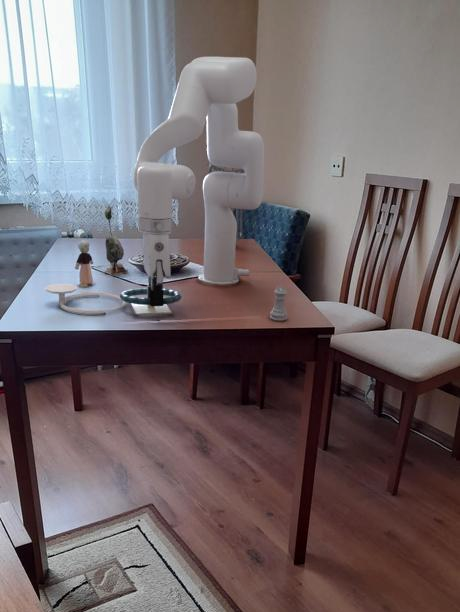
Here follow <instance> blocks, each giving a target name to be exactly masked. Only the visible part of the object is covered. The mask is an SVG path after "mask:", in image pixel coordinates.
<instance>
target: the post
mask: <svg viewBox="0 0 460 612" xmlns="http://www.w3.org/2000/svg"><path fill="white" fill-rule="evenodd" d="M148 287H151V286H148V283H147V284H146V288H147V295H146V298H148ZM130 306H131V308H132V310H133V312H134V314H135V316H152V315H153V316H155V315H172V314H173V312H172V310H171V309H170V307H169V305H168V304H163V306H150V305H138V304H132V303H130Z"/></svg>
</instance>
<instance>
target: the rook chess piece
mask: <svg viewBox="0 0 460 612" xmlns="http://www.w3.org/2000/svg"><path fill="white" fill-rule="evenodd" d="M273 293H274V295H275V296H274V305H273V307H272V308H271V311H270V313H269V314H270V315H269V318H270V320H271V321H274V322H285V321H286V320H287V319H288V317H287V316H288V313H287V311H286V306H285V301H286V299H287V298H286V295H287V294H288V292H287V288H286V287H284V286H276V287H275V290H274V291H273Z"/></svg>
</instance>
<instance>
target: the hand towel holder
mask: <svg viewBox="0 0 460 612" xmlns="http://www.w3.org/2000/svg"><path fill="white" fill-rule="evenodd" d="M44 289H45V291H46V292H47V293H51V294H55V295H57V294H58V301H57V303H58V305H59V306H60V308H61V309H62V310H64V311H65V312H67V313H68V312H69V313H70V314H76V315H86V316H103V315H107V313H106V312H112V311H117V310H119V309H122V308H123V307H125V306H126V305H127V302H124V301H122V300H121V298H120V295H117V294H114V293H108V292H97V291H89V292H88V291H87V292H79V293H77V292H76V291H77V289H78V286H77V285H75V284H72V283H62V282H60V283H58V282H57V283H51V284H48V285H45V286H44ZM74 292H76V293H74ZM71 293H73V294H71ZM66 294H69V295H67V296H66ZM101 296H107V297H112V298H116V299H119V300H121V301H122V303H121V304H120V305H118V306H115V307H113V308H106V309H89V310H88V309H78V308H72V307H69V306H67V305H66V304H67V302H68V301H70V300H74V299H78V298H79V299H80V298H89V297H90V298H91V297H93V298H95V297H101Z"/></svg>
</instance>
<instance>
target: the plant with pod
mask: <svg viewBox="0 0 460 612" xmlns="http://www.w3.org/2000/svg"><path fill="white" fill-rule="evenodd" d="M104 217H105V218H106V220H107V221H108V226H109V230H110V235H109V236H107V237H105V250H106V251H105V252H106V260H107V261H108V263H110V266H109V267H107V268H106V270H104V273H106V274H107V275H111V276H113V275H114V276H117V275H129V273H130V271H129V270H128V269H127V268H125V267H124V264H123V263H122V262H119V261H120V260H123V257H124V256H125V252H124V251H125V250H124V248H123V245H122V243H121V242H120V240H119V239H118V238H117V237H116V236H115V235H113V234H112V233H113V232H112V228H111V220H112V217H113V215H112V207H111V206H110V205H107V207H106V208H105V211H104Z"/></svg>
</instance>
